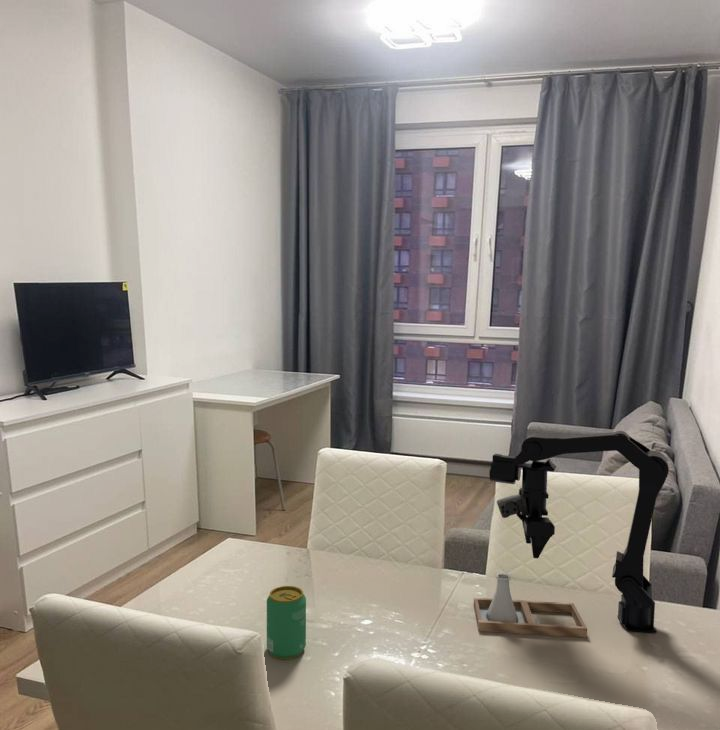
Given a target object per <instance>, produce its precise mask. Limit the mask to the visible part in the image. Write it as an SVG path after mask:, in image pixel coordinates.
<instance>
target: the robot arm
mask: <svg viewBox="0 0 720 730" xmlns="http://www.w3.org/2000/svg"><path fill="white" fill-rule="evenodd" d="M611 451H612V452H614V451H617V453H619V454H620V455H622V456H623V457H624V458H625V459H626V460H627V461H628V462H629V463H630V464H632V465H633V466H634V467H636V468H637V469H638V493H637V498H636V502H635V507H634V512H633V515H632V521H631V526H630V530H629V535H628V540H627V543H626V547H625V549H624V551H623V552H620V551H618V550H617V551H616V555H615V563H614V565H613V567H612V574H611V575H612V576H611V578H612V579H614V586H615V587H616V588H617V590H618V591H619V592H620V594H621V595H620V596H621V597H620V601H618V610H617V620H618V621H619V622H620V624H621V625H622V626H623V628H624V630H626V631H627V632H637V633H639V632H641V633H655V634H656V633H657V631H658V630H657V628H656V627H655V607H656V602H655V600H654V591H653V589H654V588H653V584H652V583H651V581H649V579H647V577H646V576H645V575H644V556H645V552H646V547H647V541H648V538H649V535H650V534H649V533H650V528H651V523H652V519H653V515H654V510H655V506H656V501H657V498H658V495H659V494H660V492H661V491H662V489H663V487H664V484H665V482H666V480H667V477H668V475H669V473H670V472H669V471H670V470H669V467H670V466H669V462H668V459H667V457H666V456H665V455H664V454H663V453H662V452H661V451H657V450H652V449H650V448H648V447H647V446H646V445H645V444H643V443H641V442H639V441H638V440H636V439H635V438H633V437H632V436H630V435H629V434H628V433H627V432H625V431H623V430H617V431H614V432H613V431H611V432H602V433H599V432H598V433H589V434H587V433H586V434H575V435H574V434H573V435H558V434H557V435H556V434H551V433H546V432H545V433H542V432H534V433H531V434H529V436H527V437H526V439H524V440H523V442H522V444H521V451H518V452H517V454H516V455H514V456H512V455H503V454H500V453H494V454H493V455H492V461H491V464H490V468H489V481H490V482H493V483H499V484H500V483H501V484H508V485H515V484H516V482H520V481H521V487H519V489H518V494H515V495H510V496H507V497H503V498H500V499H497V500H496V504H497V508H498V510H499V513H500V515H501V518H503V519H508V518H509V517H511V516H513V515H516V517H518V519H520V520H521V523H522V527H523V528H522V529H523V532H524V533H523V534H524V538H525V542H526V544H528V545H529V544H531V545H530V546H531V551H532V552H531V553H532V557H533V559H539V557H540V555H541V554H542V552H543V550H544V549H545V547H546V545H547V543H548V542H549V540H551V538H552V537H553V536H554V535H555V531H556V529H555V528H556V527H555V525H554V523H553V521H552V520H551V519H550V518H549V517H545V516H549V515H548V514H549V511H548V509H547V499H549V496H550V495H549V493H548V490H547V489H548V488H547V487H548V472H554V471H556V469H557V465H555V463H553V462H552V460H551V458H554V457H558V456H561V455H562V456H563V455H564V454H565V455H566V454H567V455H568V454H583V453H584V454H585V453H596V452H597V453H598V452H611ZM543 460H546V461H543ZM529 461H530V462H531V463H528V462H529Z"/></svg>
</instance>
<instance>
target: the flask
mask: <svg viewBox="0 0 720 730" xmlns="http://www.w3.org/2000/svg"><path fill="white" fill-rule="evenodd" d="M495 578H496V579H497V580H496V582H497V583H496V589H495V592H494V593H493V594H494V595H493V598H492V599H493V600H492V602H491V604H490V607H489V609H488V611H487V614H486V616H487V618H488V620H489V621H498V622H515V623H516V622H517V621H518V616H517V613H516V610H515V607H514V604H513V601H512V600H513V598H512V594H511V590H510V589H511V588H510V580H511V576H510V574H509V573H504V572H503V573H502V572H501V573H497V574H496V576H495Z"/></svg>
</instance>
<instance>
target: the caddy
mask: <svg viewBox="0 0 720 730" xmlns="http://www.w3.org/2000/svg"><path fill="white" fill-rule="evenodd" d="M492 600H493V598H491V597H490V598H488V597H473V610H474V615H475V620H476V625H477V631H478V632H491V633H492V632H493V633H504V634H505V633H508V634H522V635H540V636H556V637H572V638H587V637H588V627H587V626H586V624H585V621H584V620H583V617H582V616H581V615H580V613H579V611H578V609H577V607H576V605H575V603H574V602H557V601H543V600H541V601H539V600H522V599H512V601H513V604H514V607H515V610H516V613H517V616H518V621H517V622H516V623H515V622H498V621H489V620H488V618H487V616H486V614H487V611H488V609H489V607H490V604H491V602H492ZM532 612H545V613H546V612H550V613H566V614H567V613H568V614H570V615H571V617H572V618H573V620H574V623H575V625H563V624H561V625H560V624H547V623H546V624H544V623H536V621H535V619H534V617H533V615H532Z"/></svg>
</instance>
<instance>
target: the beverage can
mask: <svg viewBox="0 0 720 730" xmlns="http://www.w3.org/2000/svg"><path fill="white" fill-rule="evenodd" d="M306 597H307V596H305V594H304V591H303V590H302V588H300V587H298V586H293V585H282V586H279V587H278V586H277V587H276V588H273V589H272V590H271V591H270V592H269V595H268V597H267V598H266V649H267V650H268V652H269V655H270V656H271V657H273V658H275V659H278V660H293V659H296V658H297V657H299V656H301V654H303V652H304V649H305V648H306V646H307V598H306Z"/></svg>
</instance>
